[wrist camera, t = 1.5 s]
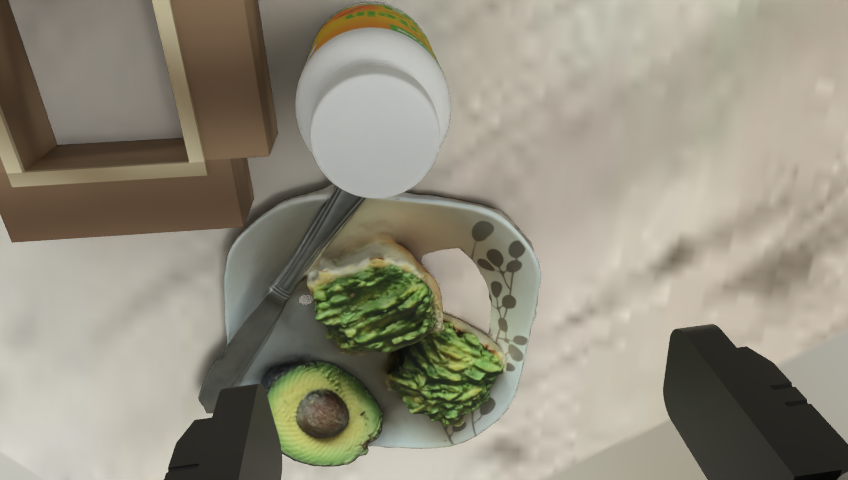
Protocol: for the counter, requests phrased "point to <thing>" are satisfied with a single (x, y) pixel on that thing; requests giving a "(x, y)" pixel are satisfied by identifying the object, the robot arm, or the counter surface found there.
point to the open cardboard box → (147, 159)
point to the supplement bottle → (372, 101)
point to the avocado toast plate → (373, 322)
